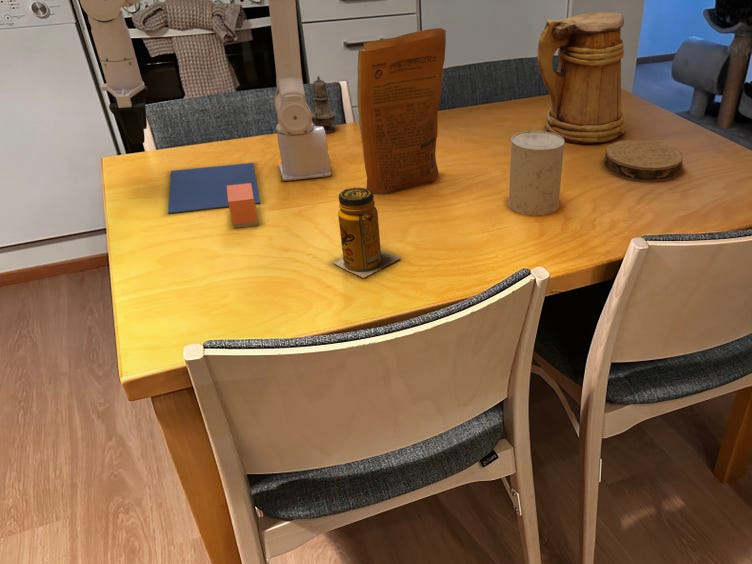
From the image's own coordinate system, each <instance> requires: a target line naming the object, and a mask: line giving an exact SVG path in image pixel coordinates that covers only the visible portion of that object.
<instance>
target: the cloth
mask: <svg viewBox="0 0 752 564" xmlns="http://www.w3.org/2000/svg"><path fill="white" fill-rule="evenodd" d="M169 180H170V181H169V196H168V207H167V208H168V210H167V213H168V215H171V214H172V215H173V214H181V213H189V212H198V211H199V212H200V211H207V210H216V209H226V208H229V204H228V196H227V186H228V185H238V184H247V183H251V185H252V191H253V196H254V201H255V205H260V204H261V200H260V193H259V188H258V183H257V177H256V171H255V165H254V163H253V162H249V163H246V162H245V163H236V164H226V165H216V166H208V167H207V166H206V167H196V168H187V169H185V168H183V169H176V170H170V179H169Z"/></svg>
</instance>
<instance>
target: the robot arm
mask: <svg viewBox="0 0 752 564" xmlns="http://www.w3.org/2000/svg"><path fill="white" fill-rule="evenodd" d="M142 1H143V0H79V2H80V5H81V8H82V9H83V11H84V12H85V13H86V14H87V18H88V23H89V25H90V28H91V29H90V30H91V31H90V32H91V35H92V38H93V42H94V45H95V49H96V52H97V55H98V59H99V63H100V65H101V69H102V73H103V74H104V79H105V81H106V83H101V84H100V86H99V87H100V91H102V92H108V93H110V94H111V96H113V97H114V98H115V100H116V102H113V103H109V105H108V109H109V111H110V112H111V114H113V116H114V117H115V118H116V119H117V121H118V122H119V123H120V125H121V126H122V128H123V130H124V132H125V134H126V135H127V137H128V139H129V141H130V143H131V144H132V145H136V144H137V145H139V144H145V142H146V141H145V140H146V137H145V130H147V128H148V120H147V119H148V118H147V108H146V107H147V106H146V102H147V101H146V100H147V94H148V89H149V88H148V86H147V85H145V82H144V81H143V79H142V75H141V72H140V67H139V64H138V60H137V56H136V52H135V49H134V45H133V41H132V38H131V33H130V30H129V27H128V26H127V23H126V19H125V16H124V12H123V10H122V8H131V7H133V6H135V5H137V4H138V3H141V2H142ZM296 3H297V2H296V0H268V10H269V18H270V28H271V38H272V46H273V55H274V64H275V66H274V67H275V76H276V79H275V81H276V83H275V84H276V91H275V94H274V96H273V107H274V110H275V112H276V114H277V122H278V123H277V124H276V126H275V131H276V137H277V142H278V149H279V156H280V162H281V164H278V167H279V170H280V174H281V178H282V181H283V182H287V181H296V180H297V181H298V180H307V179H317V178H327V177H331V176H332V173H331V166H330V165H331V164H330V163H331V159H330V153H329V148H328V147H329V146H328V141H327V135H326V134H325V130H324V127H323V126H317V125H315V124H314V123H313V121H312V114H311V113H312V111H311V109H310V107H309V105H308V103H307V99H306V94H305V93H306V92H305V88H304V82H303V73H302V64H301V53H300V52H301V51H300V50H301V49H300V38H299V29H298V17H297V5H296Z"/></svg>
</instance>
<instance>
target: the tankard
mask: <svg viewBox="0 0 752 564" xmlns="http://www.w3.org/2000/svg"><path fill="white" fill-rule="evenodd" d="M624 24H625V17H624V15H623V14H622V12H621V13H619V12H610V11H609V12H606V11H602V12H601V11H599V12H590V13H583V14H576V15H572V16H569V17H567V18H565V19H564V20H560V19H549V18H548V19H547V20H546V23H545V26H544V27H543V30H542V31H541V34H540V36H539V40H538V45H537V58H536V59H537V67H538V72H539V74H540V77H541V79H542V82H543V84H544V86H545V88H546V89H547V91H548V94H549V97H550V99H551V105H550V106H551V107H550V108H549V110H548V112H547V113H546V122H545V124H544V128H545V130H546V132H551V133H554V134H557V135H559V136H561V137H562V138H563V139H564V141H565V142H568V143H572V144H573V143H574V144H588V145H589V144H599V143H605V142H609V141H613V140H615V139H617V138H618V137H620V136H621V135H622V134H624V132H625V128H626V127H625V120H624V118H625V117H624V113H623V112H622V59H623V58H624V56H625V50H624V41H623V39H622V38H621V35H622V34H621V32H622V31H621V29H622V28H623V27H624ZM556 52H557V56H558V57H559V61H558V66H557V70H555V69H554V65H553V62H554V56H555V54H556Z"/></svg>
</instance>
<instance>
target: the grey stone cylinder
mask: <svg viewBox="0 0 752 564" xmlns="http://www.w3.org/2000/svg"><path fill="white" fill-rule="evenodd" d="M510 142H511V144H510V145H511V147H510V163H509V187H508V189H509V190H508V201H507V204H508V207H509V208H510V209H511V210H512V211H514V212H516V213H518V214H522V215H527V216H544V215H550V214H553V213H554V212H557V210H558V209H559V207H560V204H559V203H560V193H561V180H562V171H563V159H564V149H565V143H566V141H564V139H563V138H562V137H561V136H559V135H557V134H554V133H551V132H548V131H544V130H526V131H521V132H517V133H514V134H513V135H512V137H511V138H510Z"/></svg>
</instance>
